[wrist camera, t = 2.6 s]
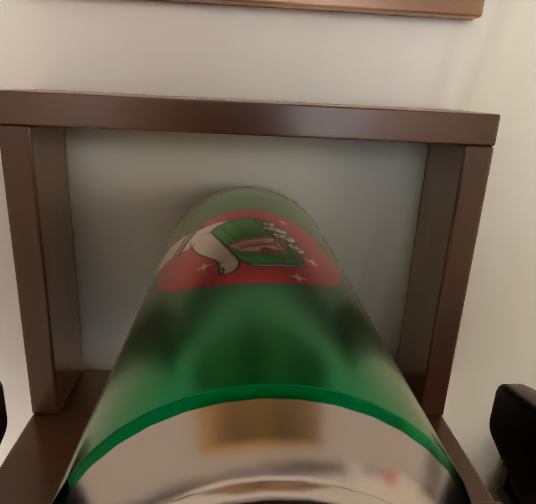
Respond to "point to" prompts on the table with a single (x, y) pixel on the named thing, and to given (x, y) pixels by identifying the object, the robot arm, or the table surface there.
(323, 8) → the cork trivet
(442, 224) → the spice rack
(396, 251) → the table surface
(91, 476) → the soda can
